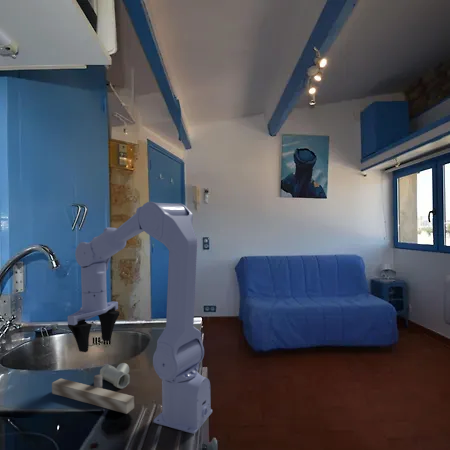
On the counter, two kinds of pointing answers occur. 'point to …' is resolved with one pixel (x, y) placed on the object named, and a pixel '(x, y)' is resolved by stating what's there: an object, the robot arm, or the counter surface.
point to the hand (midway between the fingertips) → (95, 345)
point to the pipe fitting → (116, 375)
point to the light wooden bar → (94, 394)
